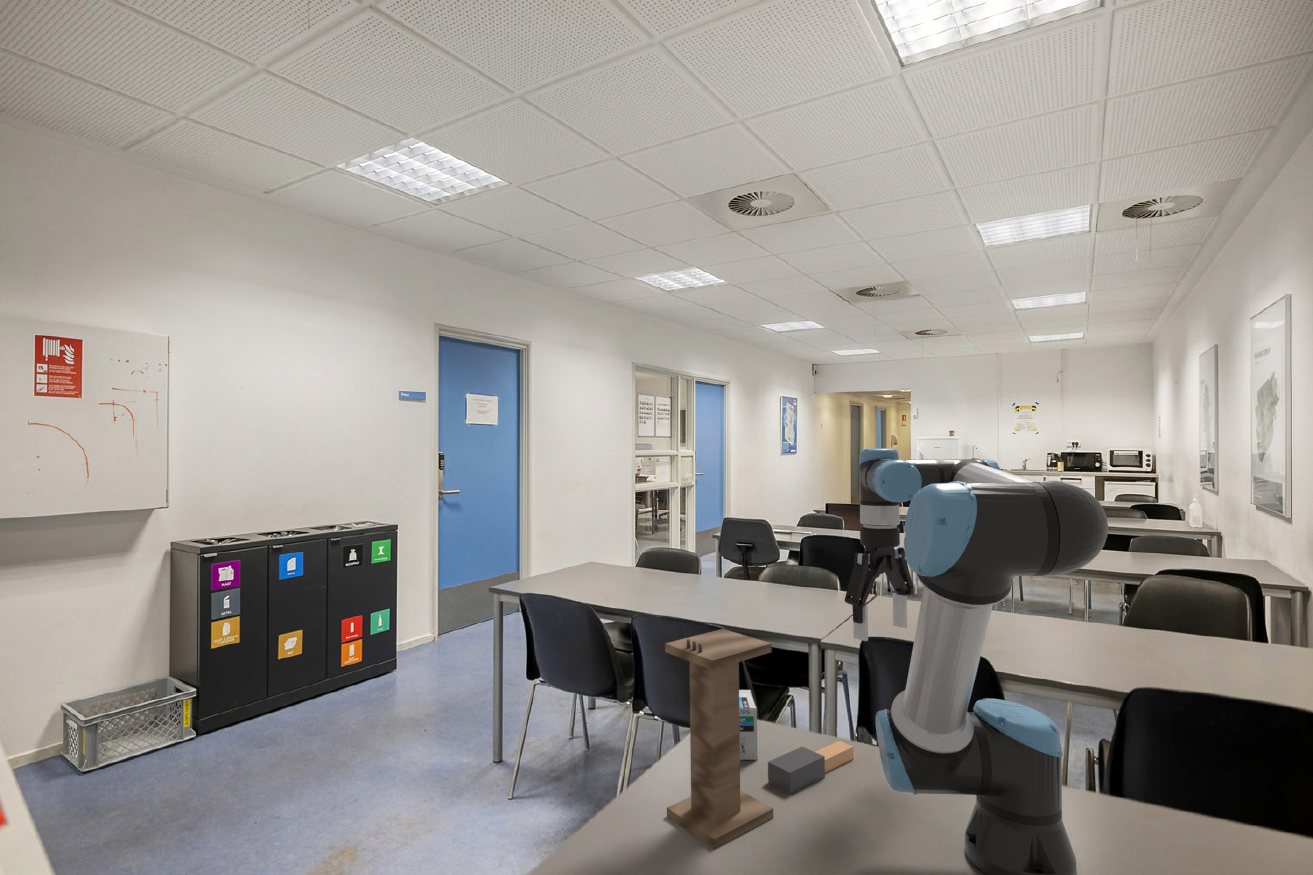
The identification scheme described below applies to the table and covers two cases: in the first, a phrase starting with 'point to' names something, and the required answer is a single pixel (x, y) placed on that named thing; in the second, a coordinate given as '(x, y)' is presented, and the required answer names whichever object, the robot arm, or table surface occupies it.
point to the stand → (716, 738)
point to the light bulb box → (747, 726)
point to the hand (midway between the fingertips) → (881, 632)
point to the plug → (806, 766)
